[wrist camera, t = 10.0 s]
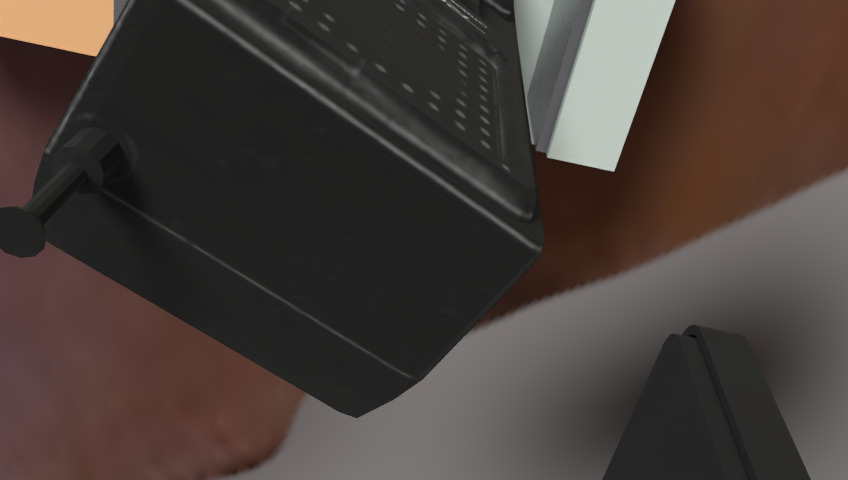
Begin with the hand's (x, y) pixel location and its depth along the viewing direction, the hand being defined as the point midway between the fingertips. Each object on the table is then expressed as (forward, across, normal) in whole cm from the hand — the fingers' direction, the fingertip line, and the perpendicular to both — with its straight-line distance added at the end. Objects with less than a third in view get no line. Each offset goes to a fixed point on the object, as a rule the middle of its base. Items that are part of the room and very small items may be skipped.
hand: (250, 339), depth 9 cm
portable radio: (+26, 0, 0) cm, 26 cm away
